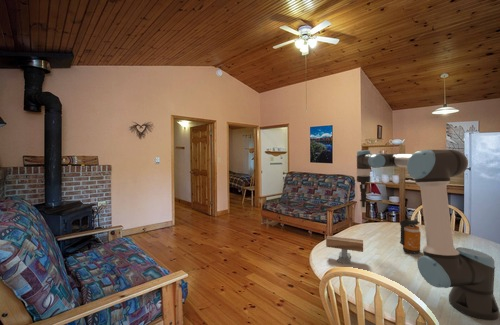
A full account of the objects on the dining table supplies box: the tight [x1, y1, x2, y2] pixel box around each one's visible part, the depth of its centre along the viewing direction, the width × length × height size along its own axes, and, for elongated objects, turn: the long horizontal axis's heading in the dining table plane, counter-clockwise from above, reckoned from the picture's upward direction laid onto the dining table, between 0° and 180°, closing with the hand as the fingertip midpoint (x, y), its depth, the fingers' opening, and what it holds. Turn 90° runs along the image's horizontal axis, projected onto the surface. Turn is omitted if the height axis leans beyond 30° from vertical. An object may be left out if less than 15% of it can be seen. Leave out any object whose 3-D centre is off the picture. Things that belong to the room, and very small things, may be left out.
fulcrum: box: [337, 249, 351, 265], centre depth 144 cm, size 12×6×7 cm, turn 156°
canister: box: [399, 219, 422, 254], centre depth 153 cm, size 9×11×20 cm
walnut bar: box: [325, 235, 364, 253], centre depth 144 cm, size 5×20×5 cm, turn 66°
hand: (363, 209), depth 153 cm, fingers open, 13 cm apart
